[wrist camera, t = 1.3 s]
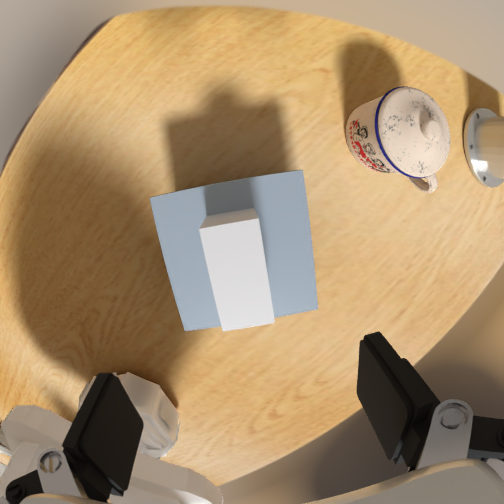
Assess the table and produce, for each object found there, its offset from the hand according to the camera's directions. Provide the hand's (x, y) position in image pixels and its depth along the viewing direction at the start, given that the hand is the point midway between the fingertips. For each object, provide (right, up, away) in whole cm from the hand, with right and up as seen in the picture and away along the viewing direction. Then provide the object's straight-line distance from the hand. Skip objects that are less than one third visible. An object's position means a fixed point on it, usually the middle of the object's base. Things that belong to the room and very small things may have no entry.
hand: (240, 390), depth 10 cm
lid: (-1, +5, +16) cm, 17 cm away
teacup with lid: (+16, +18, +21) cm, 32 cm away
